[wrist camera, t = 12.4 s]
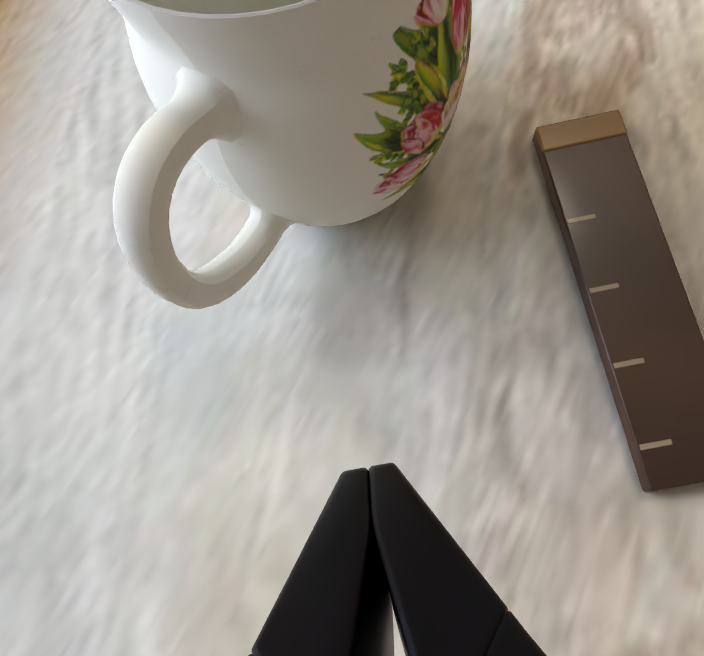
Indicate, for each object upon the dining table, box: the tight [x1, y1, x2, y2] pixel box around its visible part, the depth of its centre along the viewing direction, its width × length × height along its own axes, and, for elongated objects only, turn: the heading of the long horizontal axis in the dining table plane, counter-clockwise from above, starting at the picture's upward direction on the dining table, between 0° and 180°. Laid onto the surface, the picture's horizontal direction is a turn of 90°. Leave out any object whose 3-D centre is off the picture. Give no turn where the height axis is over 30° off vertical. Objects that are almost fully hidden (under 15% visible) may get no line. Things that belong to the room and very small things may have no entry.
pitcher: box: [108, 0, 472, 309], centre depth 20 cm, size 11×18×14 cm, turn 155°
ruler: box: [533, 110, 704, 492], centre depth 23 cm, size 15×4×1 cm, turn 10°
